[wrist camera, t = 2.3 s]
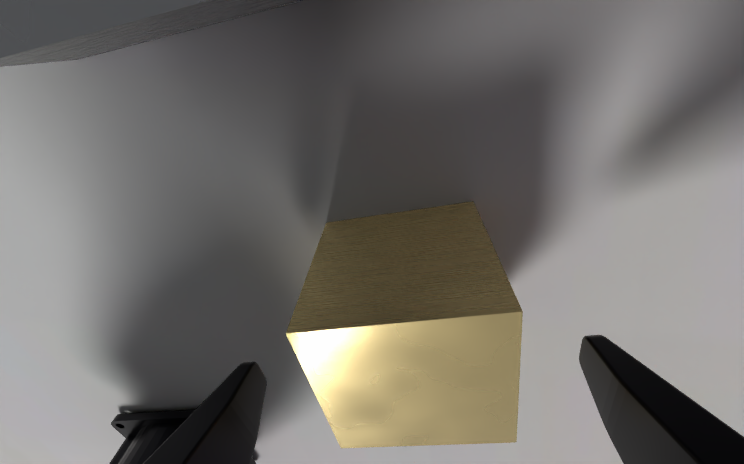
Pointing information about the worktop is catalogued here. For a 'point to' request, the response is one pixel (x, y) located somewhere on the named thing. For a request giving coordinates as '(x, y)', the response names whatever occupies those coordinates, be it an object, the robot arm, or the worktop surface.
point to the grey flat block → (104, 24)
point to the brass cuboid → (411, 331)
